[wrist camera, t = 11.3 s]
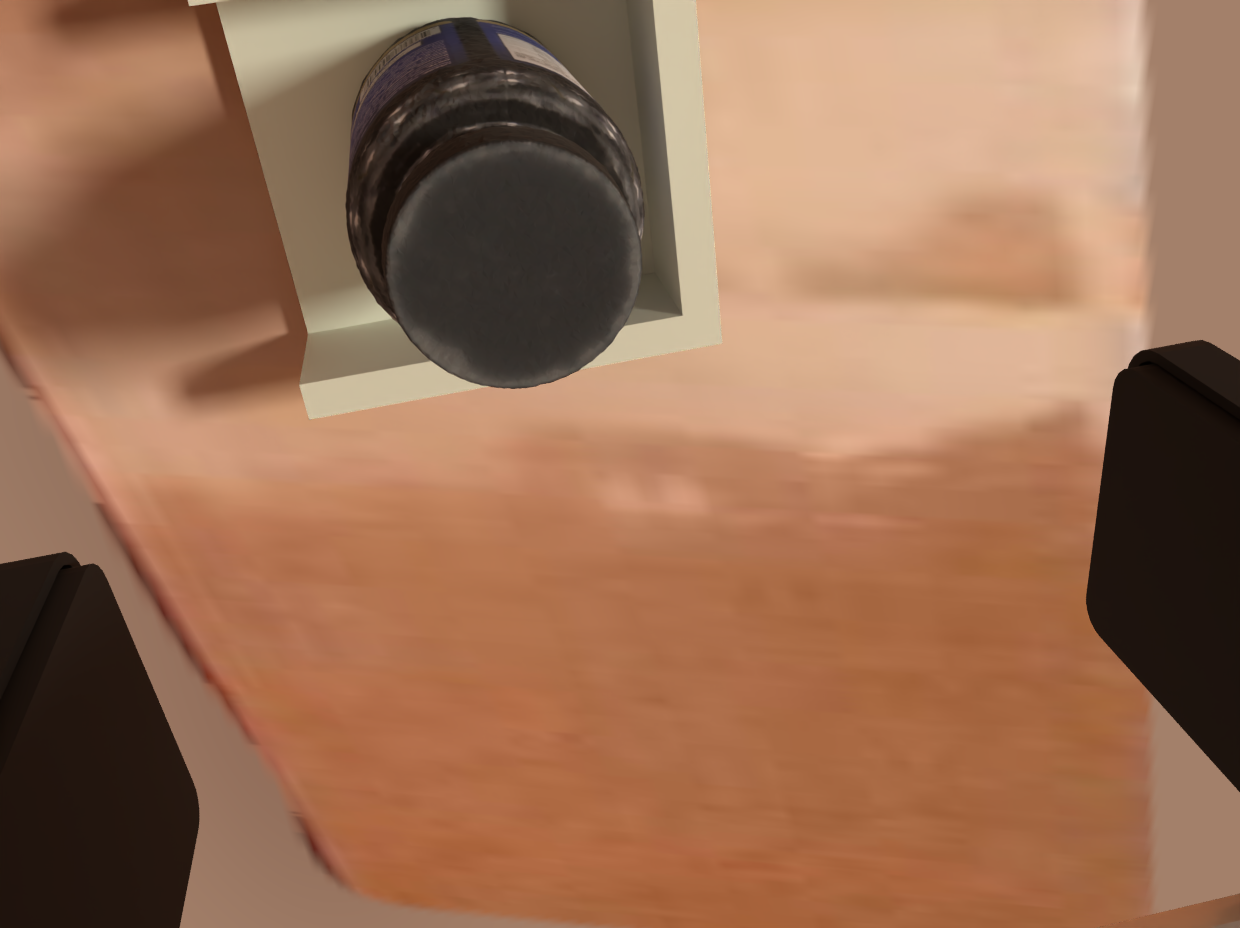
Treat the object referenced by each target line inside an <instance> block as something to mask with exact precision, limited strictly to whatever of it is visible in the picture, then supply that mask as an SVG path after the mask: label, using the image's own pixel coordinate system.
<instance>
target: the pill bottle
mask: <svg viewBox="0 0 1240 928" xmlns="http://www.w3.org/2000/svg"><path fill="white" fill-rule="evenodd" d="M345 208H346V219H347V223H346V225H347V231H348V238H349V242H350V246H351V251H352V254H353V256H354V259H355V261H356V267H357V268H358V269H359V271H360V275H361V277H362V279H363V281H364V283H365V284H366V286H367V289H369V291H370V292H371V293H372V295H373V296H374V298H375V300H376V302H377V304H379V305H380V306H381V307H382V308H383V309H384V310H385V311H386V312H387V313H388V314H389V315H390V316H391V317H392V319H393V320H395V321H396V322H397V323H398V324H399V325H400V326H401V328H402V329H403V331H404V333H405V334H406V335H407V337H408V338H409V340H410V341H411V342H412V343H413V344H414V345H415V346H416V347H417V348H418V349H419V350H420V351H421V353H422V354H423V355H425V356H426V357H427V358H428V359H429V360H430V361H432V362H433V363H435V364H436V365H437V366H439V367H440V368H442V369H443V370H445V371H446V372H448V373H450V374H452V375H455V376H456V377H458V378H460V379H463V380H466V381H468V382H471V383H475V384H479V385H482V386H490V387H496V388H511V389H515V388H529V387H535V386H538V385H540V384H546V383H551V382H554V381H556V380H559V379H561V378H564V377H566V376H568V375H570V374H572V373H574V372H577V371H579V370H580V369H581V368H583V367H584V366H586V365H587V364H589V363H590V362H592V361H593V360H594V359H595V358H596V357H597V356H598V355H599V354H601V353H602V352H604V351H605V350H606V349H607V347H608V346H609V345H610V344H611V343H612V342H613V341H614V339H615V337H616V336H617V334H618V333H619V331H620V330H621V329H622V328H623V327H624V325H625V323H626V321H627V319H628V318H629V316H630V314H631V311H632V309H633V307H634V305H635V301H636V297H637V295H638V290H639V286H640V282H641V273H642V248H641V239H642V234H643V230H644V217H645V209H644V201H643V190H642V187H641V178H640V175H639V172H638V167H637V165H636V162H635V160H634V157H633V154H632V152H631V150H630V148H629V147H628V144H627V142H626V140H625V138H624V137H623V134H622V133H621V131H620V130H619V128H618V127H617V125H616V124H615V123H614V121H613V120H612V119H611V118H610V117H609V116H608V114H607V113H606V112H605V111H604V110H603V108H602V107H601V106H600V105H599V104H598V103H597V102H596V101H595V100H594V99H593V98H592V97H591V95H590V94H589V93H588V92H587V91H586V90H585V89H584V88H583V87H582V86H581V85H580V83H579V82H578V81H577V80H576V79H575V78H574V77H573V76H572V75H571V73H570V72H569V71H568V70H567V69H566V68H565V67H564V66H563V65H562V64H561V63H560V61H559V60H558V59H557V58H556V57H555V56H554V55H553V54H552V53H551V52H550V51H549V50H548V49H547V48H546V47H545V46H544V45H543V44H542V43H541V42H540V41H538V40H537V39H536V38H535V37H533V36H532V35H530V34H529V33H527V32H524V31H522V30H519V29H517V28H515V27H513V26H510V25H508V24H505V23H502V22H499V21H495V20H482V19H477V18H473V17H460V18H446V19H441V20H436V21H433V22H430V23H427V24H425V25H423V26H421V27H418V28H415V29H413V30H412V31H410V32H409V33H408V34H406V35H405V36H403V37H401V38H398V39H397V40H396V41H395V42H394V43H393V44H392V45H391V46H390V47H389V48H388V49H387V50H386V51H385V52H384V53H383V54H382V55H381V57H380V58H379V59H378V60H377V62H376V63H375V64H374V65H373V66H372V68H371V69H370V71H369V72H368V74H367V75H366V76H365V78H364V79H363V81H362V84H361V87H360V90H359V92H358V95H357V97H356V100H355V103H354V107H353V110H352V125H351V135H350V155H349V172H348V184H347V191H346V203H345Z"/></svg>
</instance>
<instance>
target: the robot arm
mask: <svg viewBox="0 0 1240 928" xmlns="http://www.w3.org/2000/svg"><path fill="white" fill-rule="evenodd" d="M1086 605H1087V611H1088V615H1089V618H1090V621H1091V623H1092V625H1093V627H1094V629H1095V631H1096V632H1097V633H1098V635H1099V636H1100V637H1101V638H1102V639H1103V641H1104V642H1105V643H1106V644H1107V645H1108V646H1109V647H1110V648H1111V649H1112V651H1113V652H1114V653H1115V654H1116V655H1117V656H1118V657H1119V658H1120V659H1121V661H1122V662H1123V663H1124V664H1125V665H1126V666H1127V667H1128V668H1129V669H1130V671H1131V672H1132V673H1133V674H1134V675H1135V676H1136V677H1137V678H1138V679H1139V681H1140V682H1141V683H1142V684H1143V685H1144V686H1145V687H1146V688H1147V689H1148V691H1149V692H1150V693H1151V694H1152V695H1153V696H1154V697H1155V698H1156V699H1157V700H1158V702H1159V703H1160V704H1161V705H1162V706H1163V707H1164V708H1165V709H1166V711H1167V712H1168V713H1169V714H1170V715H1171V716H1172V717H1173V718H1174V720H1175V721H1176V722H1177V723H1178V724H1179V725H1180V726H1181V727H1182V728H1183V730H1184V731H1185V732H1186V733H1187V734H1188V735H1189V736H1190V737H1191V738H1192V739H1193V740H1194V742H1195V743H1196V744H1197V745H1198V746H1199V747H1200V748H1201V749H1202V751H1203V752H1204V753H1205V754H1206V755H1207V756H1208V757H1209V758H1210V760H1211V761H1212V762H1213V763H1214V764H1215V765H1216V766H1217V767H1218V768H1219V770H1221V772H1222V773H1223V774H1224V775H1225V776H1226V777H1227V778H1228V779H1229V781H1230V782H1231V783H1232V784H1233V785H1234V786H1235V787H1236V788H1237V790H1238V791H1239V792H1240V361H1239V360H1238V359H1236V358H1234V357H1233V356H1231V355H1230V354H1228V353H1226V352H1225V351H1223V350H1221V349H1220V348H1218V347H1216V346H1215V345H1213V344H1211V343H1209V342H1206V341H1203V340H1199V341H1191V342H1185V343H1180V344H1175V345H1170V346H1164V347H1159V348H1153V349H1148V350H1142V351H1140V352H1139V353H1137V354H1136V355H1135V356H1134V357H1133V359H1132V360H1131V362H1130V364H1129V366H1128V369H1124V370H1122V371H1121V372H1120V373H1119V374H1118V375H1117V377H1116V379H1115V382H1114V386H1113V393H1112V400H1111V408H1110V416H1109V424H1108V431H1107V439H1106V447H1105V455H1104V462H1103V470H1102V478H1101V486H1100V493H1099V501H1098V509H1097V517H1096V524H1095V532H1094V540H1093V548H1092V555H1091V563H1090V571H1089V579H1088V586H1087V594H1086ZM198 828H199V804H198V797H197V792H196V789H195V786H194V783H193V780H192V778H191V776H190V773H189V771H188V769H187V766H186V764H185V762H184V759H183V757H182V755H181V752H180V750H179V747H178V745H177V743H176V740H175V738H174V736H173V733H172V731H171V729H170V726H169V724H168V722H167V719H166V717H165V714H164V712H163V710H162V707H161V705H160V703H159V700H158V698H157V696H156V693H155V691H154V689H153V686H152V684H151V682H150V679H149V677H148V675H147V672H146V670H145V667H144V665H143V663H142V660H141V658H140V656H139V654H138V651H137V649H136V647H135V645H134V642H133V639H132V637H131V635H130V632H129V630H128V628H127V625H126V623H125V620H124V618H123V616H122V613H121V611H120V609H119V606H118V604H117V602H116V599H115V597H114V594H113V592H112V590H111V587H110V585H109V583H108V581H107V578H106V577H105V575H104V573H103V571H102V570H101V569H100V567H99V566H98V565H95V564H88V565H83V566H81V565H80V564H79V562H78V561H77V560H76V558H75V557H74V556H73V555H72V554H69V553H67V552H62V553H57V554H51V555H46V556H41V557H35V558H30V559H25V560H19V561H14V562H8V563H3V564H0V928H179V927H180V922H181V917H182V912H183V906H184V901H185V896H186V891H187V886H188V880H189V875H190V870H191V865H192V860H193V854H194V849H195V844H196V838H197V834H198ZM1097 928H1240V894H1237V895H1232V896H1228V897H1224V898H1220V899H1215V900H1211V901H1207V902H1203V903H1199V904H1194V905H1190V906H1186V907H1182V908H1178V909H1174V910H1169V911H1165V912H1161V913H1156V914H1152V915H1148V916H1144V917H1139V918H1135V919H1131V920H1127V921H1123V922H1118V923H1114V924H1110V925H1106V926H1102V927H1097Z"/></svg>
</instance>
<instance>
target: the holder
mask: <svg viewBox="0 0 1240 928" xmlns="http://www.w3.org/2000/svg"><path fill="white" fill-rule="evenodd" d="M215 2H216V5H217V8H218V12H219V16H220V19H221V23H222V26H223V30H224V34H225V37H226V41H227V44H228V48H229V52H230V55H231V59H232V62H233V66H234V69H235V73H236V77H237V80H238V84H239V87H240V91H241V95H242V98H243V102H244V105H245V109H246V113H247V116H248V120H249V123H250V127H251V131H252V134H253V138H254V141H255V145H256V148H257V152H258V156H259V159H260V163H261V166H262V170H263V174H264V177H265V181H266V184H267V188H268V192H269V195H270V199H271V202H272V206H273V210H274V213H275V217H276V220H277V224H278V227H279V231H280V235H281V238H282V242H283V245H284V249H285V253H286V256H287V260H288V263H289V267H290V271H291V274H292V278H293V281H294V285H295V288H296V292H297V296H298V299H299V303H300V306H301V310H302V314H303V317H304V321H305V324H306V328H307V332H308V337H307V343H306V349H305V354H304V360H303V366H302V372H301V377H300V383H299V386H300V389H301V393H302V396H303V400H304V403H305V407H306V410H307V414H308V417H309V420H310V419H316V418H321V417H327V416H332V415H338V414H343V413H348V412H354V411H359V410H365V409H370V408H376V407H381V406H386V405H392V404H397V403H403V402H408V401H414V400H419V399H424V398H430V397H435V396H441V395H446V394H452V393H457V392H462V391H468V390H473V389H479V388H484V387H490V386H482V385H479V384H475V383H471V382H468V381H466V380H463V379H460V378H458V377H456V376H455V375H452V374H450V373H448V372H446V371H445V370H443V369H442V368H440V367H439V366H437V365H436V364H435V363H433V362H432V361H430V360H429V359H428V358H427V357H426V356H425V355H423V354H422V353H421V351H420V350H419V349H418V348H417V347H416V346H415V345H414V344H413V343H412V342H411V341H410V340H409V338H408V337H407V335H406V334H405V333H404V331H403V329H402V328H401V326H400V325H399V324H398V323H397V322H396V321H395V320H393V319H392V317H391V316H390V315H389V314H388V313H387V312H386V311H385V310H384V309H383V308H382V307H381V306H380V305H379V304H377V302H376V300H375V298H374V296H373V295H372V293H371V292H370V291H369V289H367V286H366V284H365V283H364V281H363V279H362V277H361V275H360V271H359V269H358V268H357V267H356V261H355V259H354V256H353V254H352V251H351V246H350V242H349V238H348V231H347V225H346V223H347V219H346V208H345V203H346V191H347V184H348V172H349V155H350V135H351V125H352V110H353V107H354V103H355V100H356V97H357V95H358V92H359V90H360V87H361V84H362V81H363V79H364V78H365V76H366V75H367V74H368V72H369V71H370V69H371V68H372V66H373V65H374V64H375V63H376V62H377V60H378V59H379V58H380V57H381V55H382V54H383V53H384V52H385V51H386V50H387V49H388V48H389V47H390V46H391V45H392V44H393V43H394V42H395V41H396V40H397V39H398V38H401V37H403V36H405V35H406V34H408V33H409V32H410V31H412V30H413V29H415V28H418V27H421V26H423V25H425V24H427V23H430V22H433V21H436V20H441V19H446V18H460V17H473V18H477V19H482V20H495V21H499V22H502V23H505V24H508V25H510V26H513V27H515V28H517V29H519V30H522V31H524V32H527V33H529V34H530V35H532V36H533V37H535V38H536V39H537V40H538V41H540V42H541V43H542V44H543V45H544V46H545V47H546V48H547V49H548V50H549V51H550V52H551V53H552V54H553V55H554V56H555V57H556V58H557V59H558V60H559V61H560V63H561V64H562V65H563V66H564V67H565V68H566V69H567V70H568V71H569V72H570V73H571V75H572V76H573V77H574V78H575V79H576V80H577V81H578V82H579V83H580V85H581V86H582V87H583V88H584V89H585V90H586V91H587V92H588V93H589V94H590V95H591V97H592V98H593V99H594V100H595V101H596V102H597V103H598V104H599V105H600V106H601V107H602V108H603V110H604V111H605V112H606V113H607V114H608V116H609V117H610V118H611V119H612V120H613V121H614V123H615V124H616V125H617V127H618V128H619V130H620V131H621V133H622V134H623V137H624V138H625V140H626V142H627V144H628V147H629V148H630V150H631V152H632V154H633V157H634V160H635V162H636V165H637V167H638V172H639V175H640V178H641V187H642V190H643V201H644V209H645V217H644V230H643V234H642V239H641V248H642V273H641V282H640V286H639V290H638V295H637V297H636V301H635V305H634V307H633V309H632V311H631V314H630V316H629V318H628V319H627V321H626V323H625V325H624V327H623V328H622V329H621V330H620V331H619V333H618V334H617V336H616V337H615V339H614V341H613V342H612V343H611V344H610V345H609V346H608V347H607V349H606V350H605V351H604V352H602V353H601V354H599V355H598V356H597V357H596V358H595V359H594V360H593V361H592V362H590V363H589V364H587V365H586V366H584V367H583V368H581V369H580V370H582V369H587V368H593V367H598V366H604V365H609V364H615V363H620V362H625V361H631V360H636V359H642V358H647V357H653V356H658V355H663V354H669V353H674V352H680V351H685V350H691V349H696V348H701V347H707V346H712V345H718V344H722V334H721V321H720V308H719V295H718V282H717V269H716V256H715V243H714V230H713V217H712V204H711V191H710V178H709V165H708V152H707V139H706V126H705V113H704V100H703V87H702V74H701V61H700V48H699V35H698V22H697V9H696V0H188V3H189V6H195V5H201V4H208V3H215Z"/></svg>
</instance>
